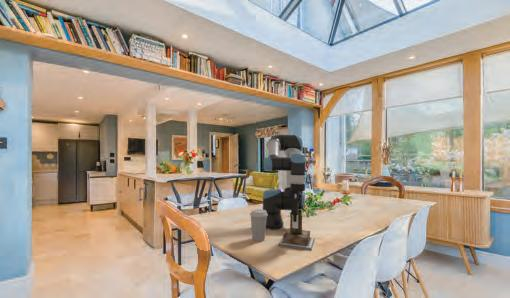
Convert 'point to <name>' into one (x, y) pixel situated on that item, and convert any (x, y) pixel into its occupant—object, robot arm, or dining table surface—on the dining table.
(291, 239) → the pedestal
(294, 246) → the plan board
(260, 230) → the coffee cup
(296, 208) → the robot arm
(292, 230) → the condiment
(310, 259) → the dining table surface
